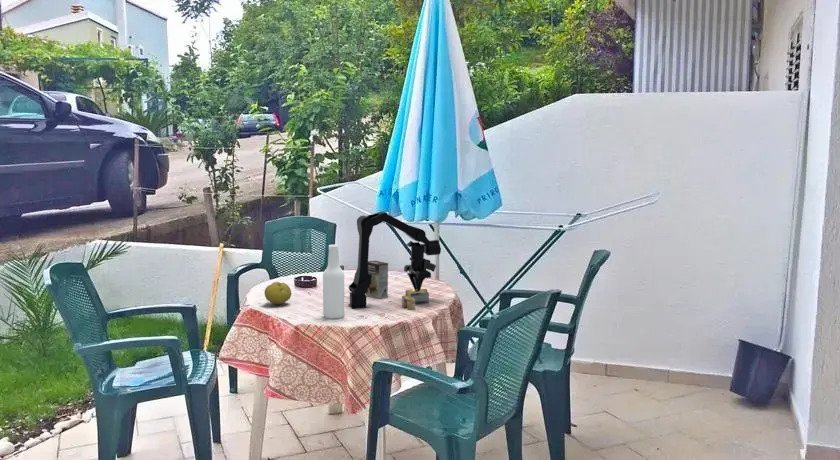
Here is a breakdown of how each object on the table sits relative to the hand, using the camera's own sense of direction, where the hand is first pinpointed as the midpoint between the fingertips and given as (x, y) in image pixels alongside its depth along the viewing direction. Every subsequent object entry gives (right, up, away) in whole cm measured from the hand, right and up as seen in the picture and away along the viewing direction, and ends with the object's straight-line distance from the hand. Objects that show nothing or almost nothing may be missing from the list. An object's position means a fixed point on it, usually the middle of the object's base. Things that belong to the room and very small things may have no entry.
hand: (417, 290), depth 331 cm
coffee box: (-19, -4, +11) cm, 22 cm away
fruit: (-61, -6, -7) cm, 62 cm away
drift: (-4, -7, -10) cm, 13 cm away
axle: (0, -3, 0) cm, 3 cm away
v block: (0, -5, +1) cm, 5 cm away
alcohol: (-34, -9, -26) cm, 44 cm away
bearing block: (-4, -7, -10) cm, 13 cm away
